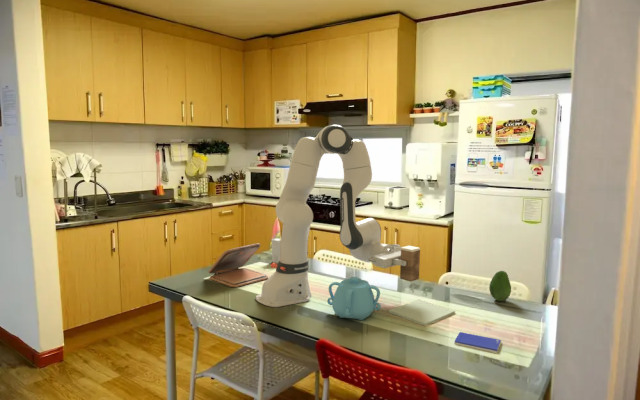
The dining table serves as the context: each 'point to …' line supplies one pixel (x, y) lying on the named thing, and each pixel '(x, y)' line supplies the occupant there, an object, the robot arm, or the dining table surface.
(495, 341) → the hard drive
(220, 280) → the case
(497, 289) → the fruit
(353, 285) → the decorative pot
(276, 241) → the skincare box
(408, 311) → the sage mat
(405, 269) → the walnut block
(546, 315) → the dining table surface
